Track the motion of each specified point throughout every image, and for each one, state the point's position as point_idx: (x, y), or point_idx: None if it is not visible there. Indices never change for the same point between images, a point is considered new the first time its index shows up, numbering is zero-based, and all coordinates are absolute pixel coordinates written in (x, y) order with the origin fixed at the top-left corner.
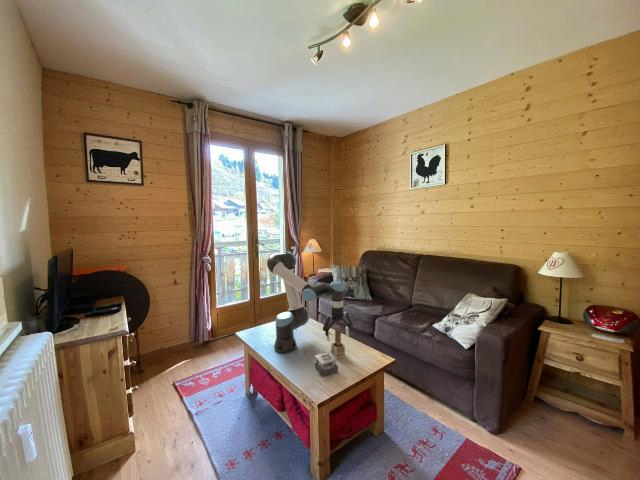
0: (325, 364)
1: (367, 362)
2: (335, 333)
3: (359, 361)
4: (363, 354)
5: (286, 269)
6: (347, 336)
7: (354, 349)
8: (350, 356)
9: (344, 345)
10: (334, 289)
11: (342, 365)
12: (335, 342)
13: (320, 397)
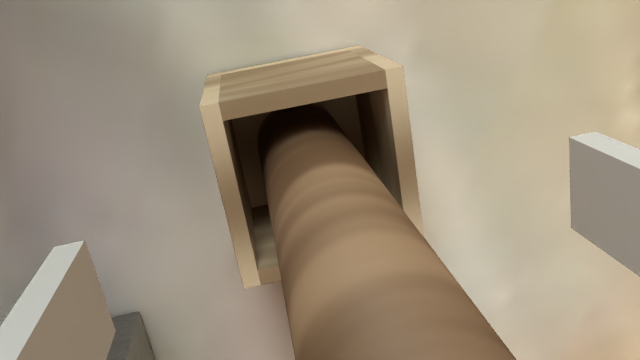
0: None
1: (560, 349)
2: (293, 347)
3: (492, 318)
4: None
5: None
6: (577, 222)
7: (568, 44)
8: (441, 201)
9: (422, 232)
10: None
11: (279, 356)
12: (271, 221)
13: None
